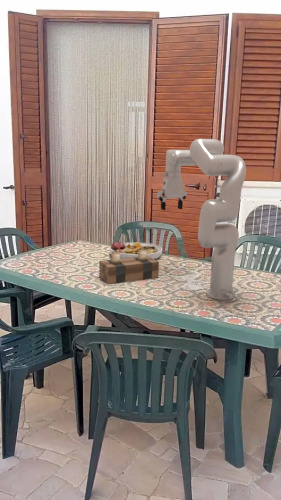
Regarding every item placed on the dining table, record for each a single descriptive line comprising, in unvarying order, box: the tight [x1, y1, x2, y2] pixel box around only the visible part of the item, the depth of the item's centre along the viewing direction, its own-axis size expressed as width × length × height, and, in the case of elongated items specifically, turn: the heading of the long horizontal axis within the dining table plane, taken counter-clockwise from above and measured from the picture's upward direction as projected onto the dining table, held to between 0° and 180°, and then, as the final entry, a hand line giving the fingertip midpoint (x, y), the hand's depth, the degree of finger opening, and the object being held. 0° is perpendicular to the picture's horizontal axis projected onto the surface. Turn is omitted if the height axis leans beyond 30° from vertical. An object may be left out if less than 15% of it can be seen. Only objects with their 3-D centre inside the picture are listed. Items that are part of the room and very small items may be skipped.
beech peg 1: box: [111, 251, 120, 265], centre depth 214 cm, size 4×4×8 cm
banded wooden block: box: [98, 256, 160, 285], centre depth 218 cm, size 12×26×8 cm, turn 116°
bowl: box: [109, 241, 163, 260], centre depth 259 cm, size 30×30×8 cm
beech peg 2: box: [138, 249, 147, 262], centre depth 220 cm, size 4×4×8 cm
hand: (171, 209), depth 228 cm, fingers open, 9 cm apart
